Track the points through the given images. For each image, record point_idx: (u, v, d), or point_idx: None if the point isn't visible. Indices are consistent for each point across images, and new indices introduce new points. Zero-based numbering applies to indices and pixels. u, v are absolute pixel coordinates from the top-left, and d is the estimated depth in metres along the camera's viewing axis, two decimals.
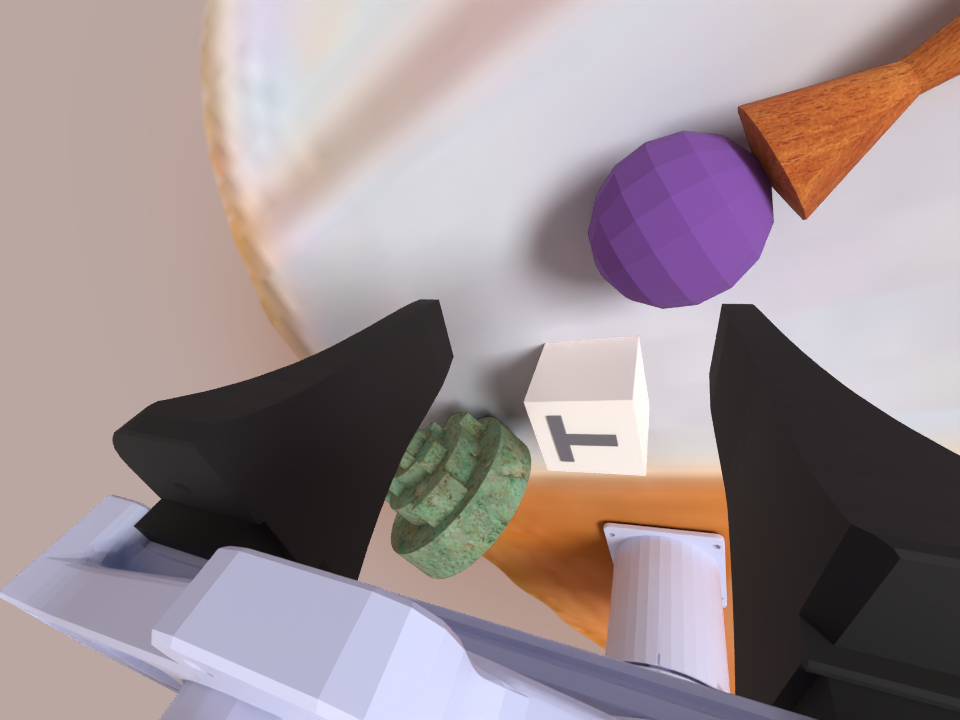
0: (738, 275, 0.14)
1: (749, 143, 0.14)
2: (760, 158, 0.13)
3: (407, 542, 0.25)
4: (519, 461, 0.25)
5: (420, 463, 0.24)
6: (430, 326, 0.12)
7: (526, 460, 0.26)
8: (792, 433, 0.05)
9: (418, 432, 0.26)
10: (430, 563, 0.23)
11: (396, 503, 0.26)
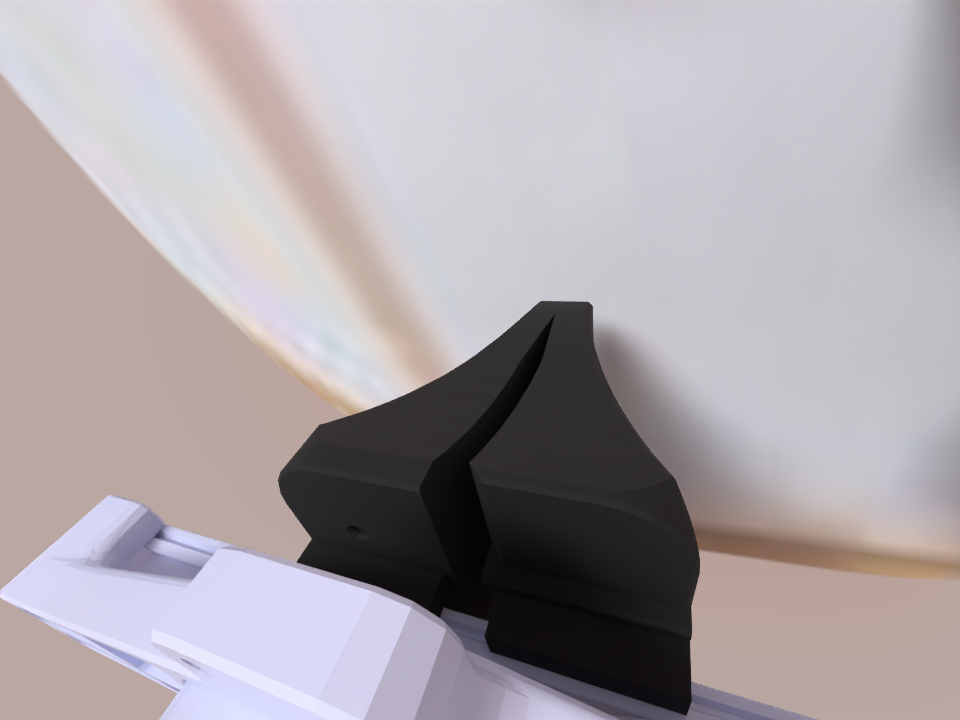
0: None
1: None
2: None
3: None
4: None
5: None
6: None
7: None
8: (522, 405, 0.07)
9: None
10: None
11: None
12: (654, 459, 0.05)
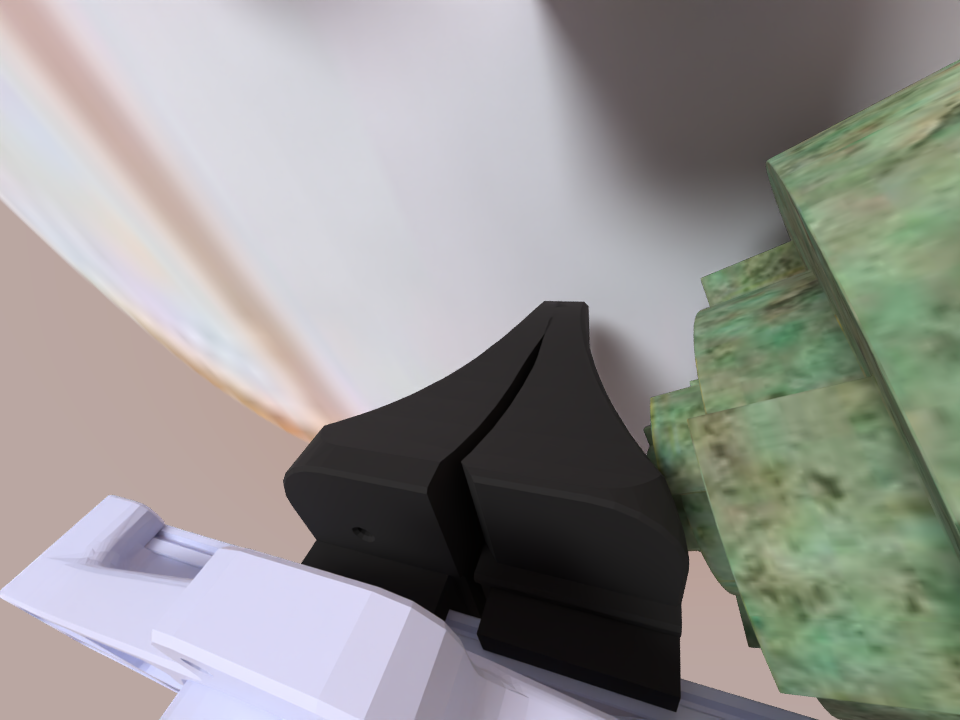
0: None
1: None
2: None
3: None
4: (948, 71, 0.05)
5: None
6: None
7: None
8: (515, 404, 0.07)
9: (646, 432, 0.09)
10: None
11: None
12: (645, 458, 0.05)
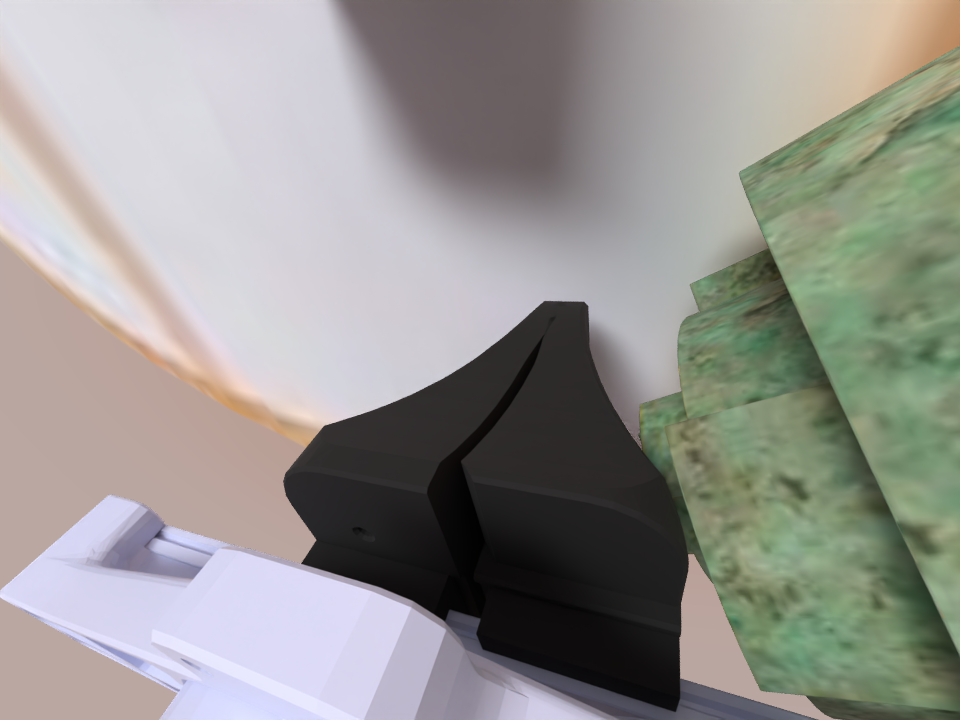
0: None
1: None
2: None
3: None
4: (901, 85, 0.05)
5: None
6: None
7: (948, 53, 0.05)
8: (515, 404, 0.07)
9: None
10: None
11: None
12: (644, 458, 0.05)
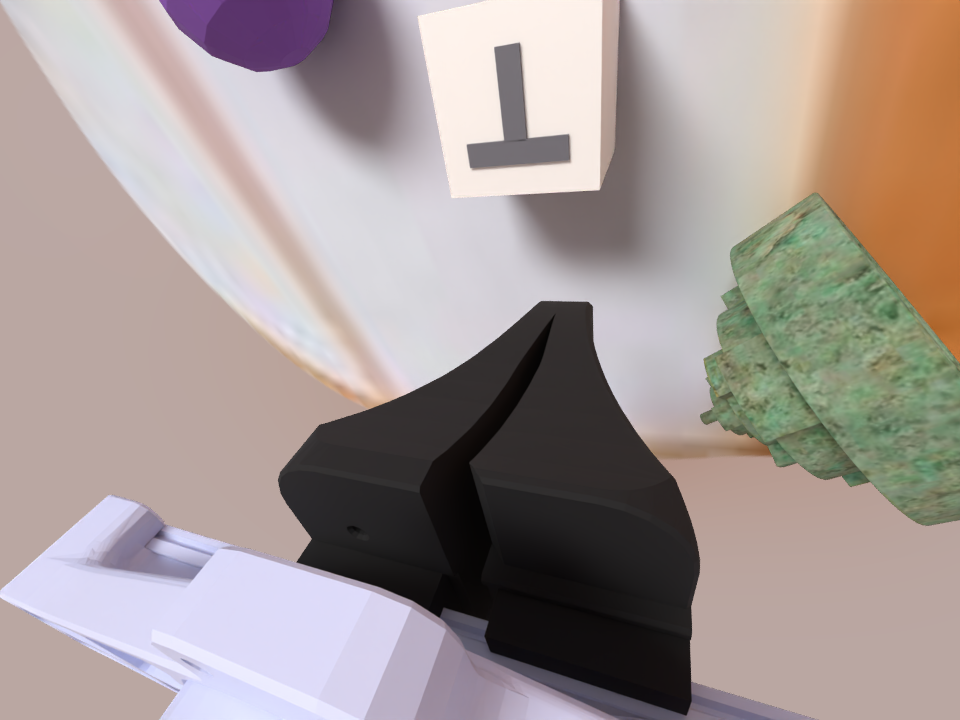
0: None
1: None
2: None
3: None
4: (783, 219, 0.13)
5: (716, 394, 0.14)
6: None
7: (801, 203, 0.13)
8: (522, 405, 0.07)
9: (708, 379, 0.17)
10: (931, 466, 0.10)
11: None
12: (654, 459, 0.05)
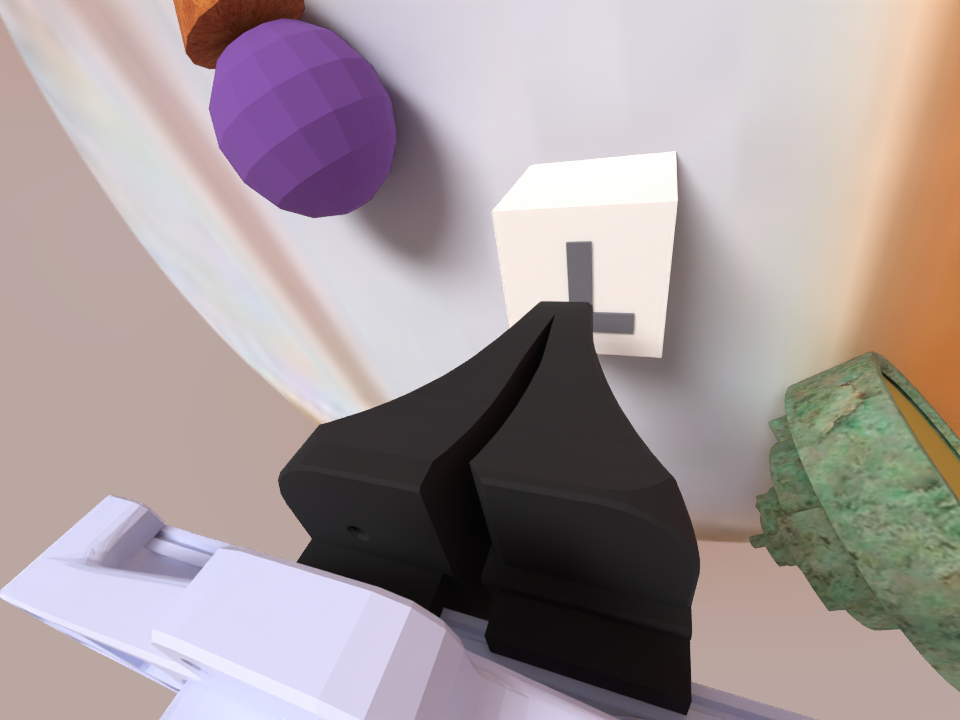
0: (288, 64, 0.12)
1: None
2: None
3: None
4: (840, 389, 0.13)
5: (772, 539, 0.15)
6: None
7: (857, 372, 0.13)
8: (522, 405, 0.07)
9: (757, 506, 0.17)
10: None
11: None
12: (654, 459, 0.05)
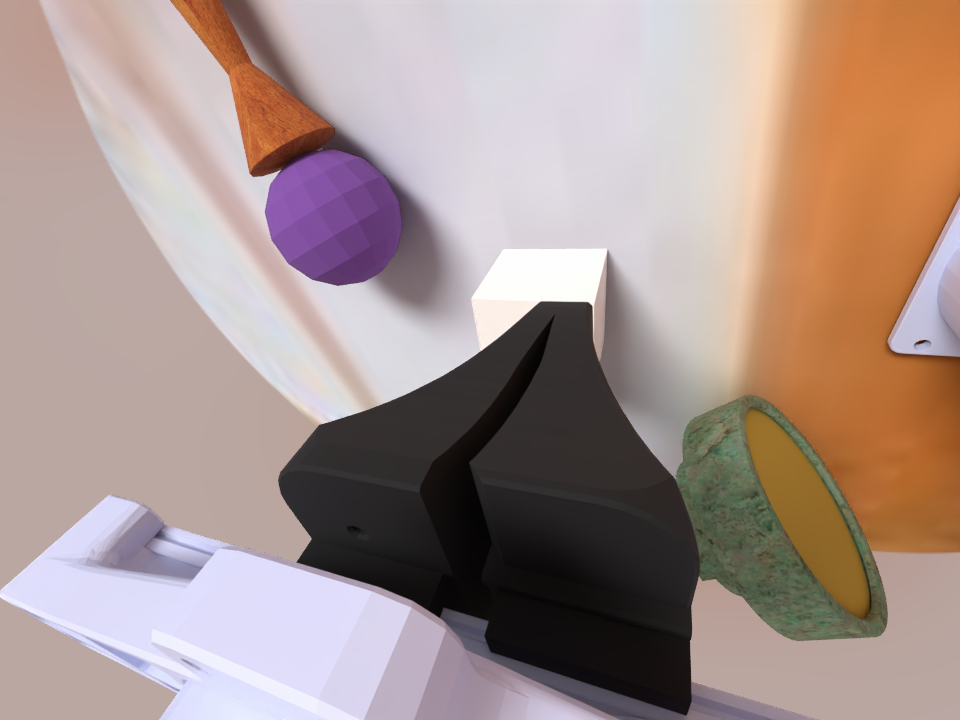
0: (327, 191, 0.17)
1: None
2: (279, 166, 0.19)
3: None
4: (716, 425, 0.19)
5: None
6: None
7: (729, 413, 0.19)
8: (522, 405, 0.07)
9: None
10: (795, 617, 0.16)
11: None
12: (654, 459, 0.05)
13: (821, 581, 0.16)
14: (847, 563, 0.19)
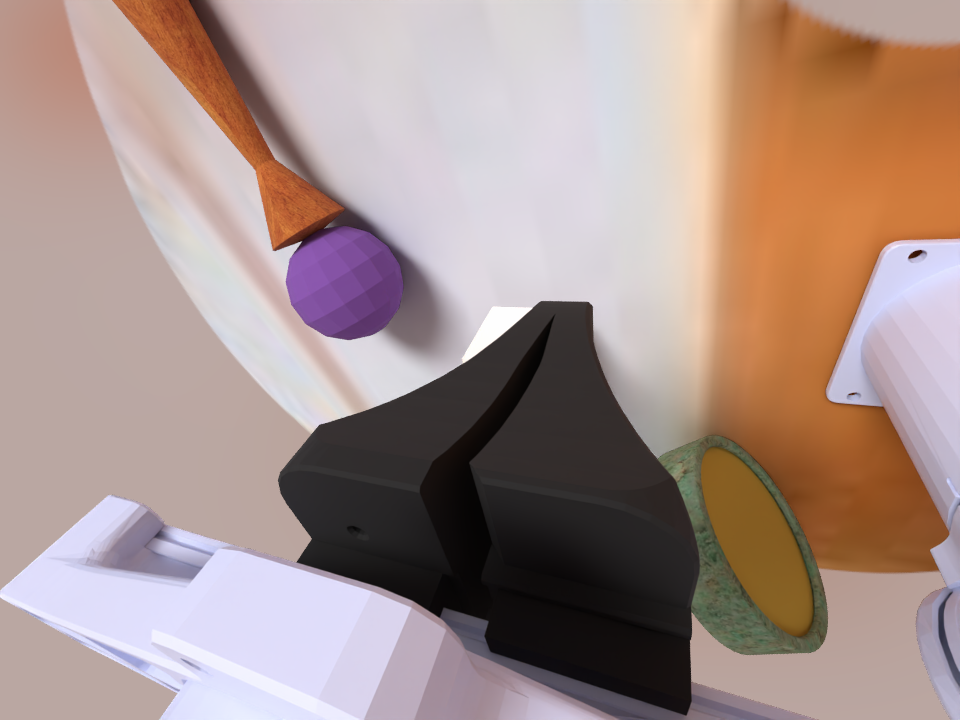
0: (339, 267, 0.20)
1: None
2: (297, 242, 0.22)
3: None
4: (677, 464, 0.22)
5: None
6: None
7: (688, 454, 0.22)
8: (522, 405, 0.07)
9: None
10: (739, 635, 0.18)
11: None
12: (654, 459, 0.05)
13: (762, 604, 0.19)
14: (794, 586, 0.21)
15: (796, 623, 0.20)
